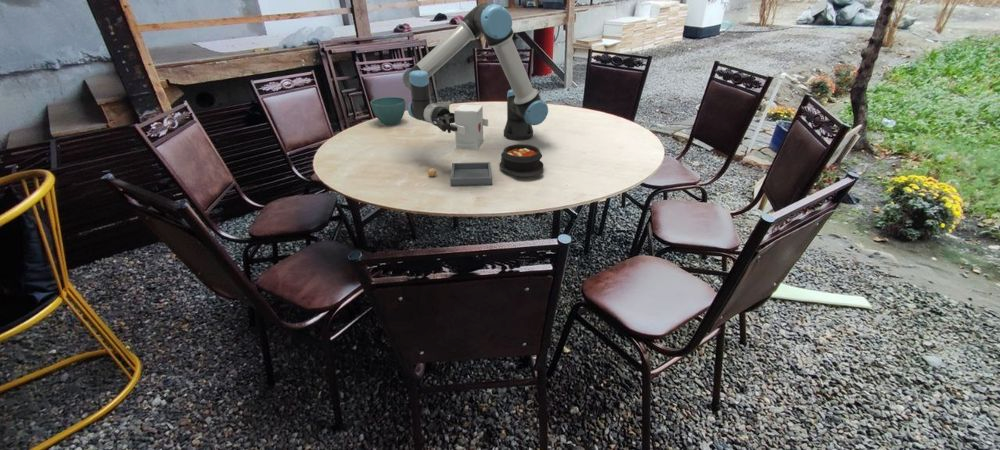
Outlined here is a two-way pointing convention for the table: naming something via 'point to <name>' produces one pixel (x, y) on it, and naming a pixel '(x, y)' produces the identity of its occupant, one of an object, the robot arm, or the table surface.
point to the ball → (431, 172)
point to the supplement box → (469, 126)
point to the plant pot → (389, 110)
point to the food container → (443, 104)
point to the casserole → (522, 160)
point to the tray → (471, 174)
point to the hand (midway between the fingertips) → (476, 126)
